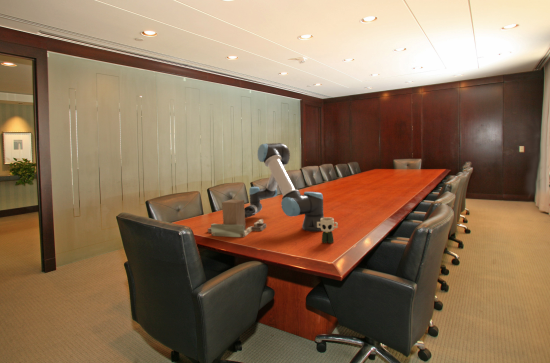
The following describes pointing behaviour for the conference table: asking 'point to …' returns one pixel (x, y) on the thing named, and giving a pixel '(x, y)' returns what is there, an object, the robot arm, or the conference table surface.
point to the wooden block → (234, 212)
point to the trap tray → (235, 229)
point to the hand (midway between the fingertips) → (236, 218)
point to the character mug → (327, 229)
